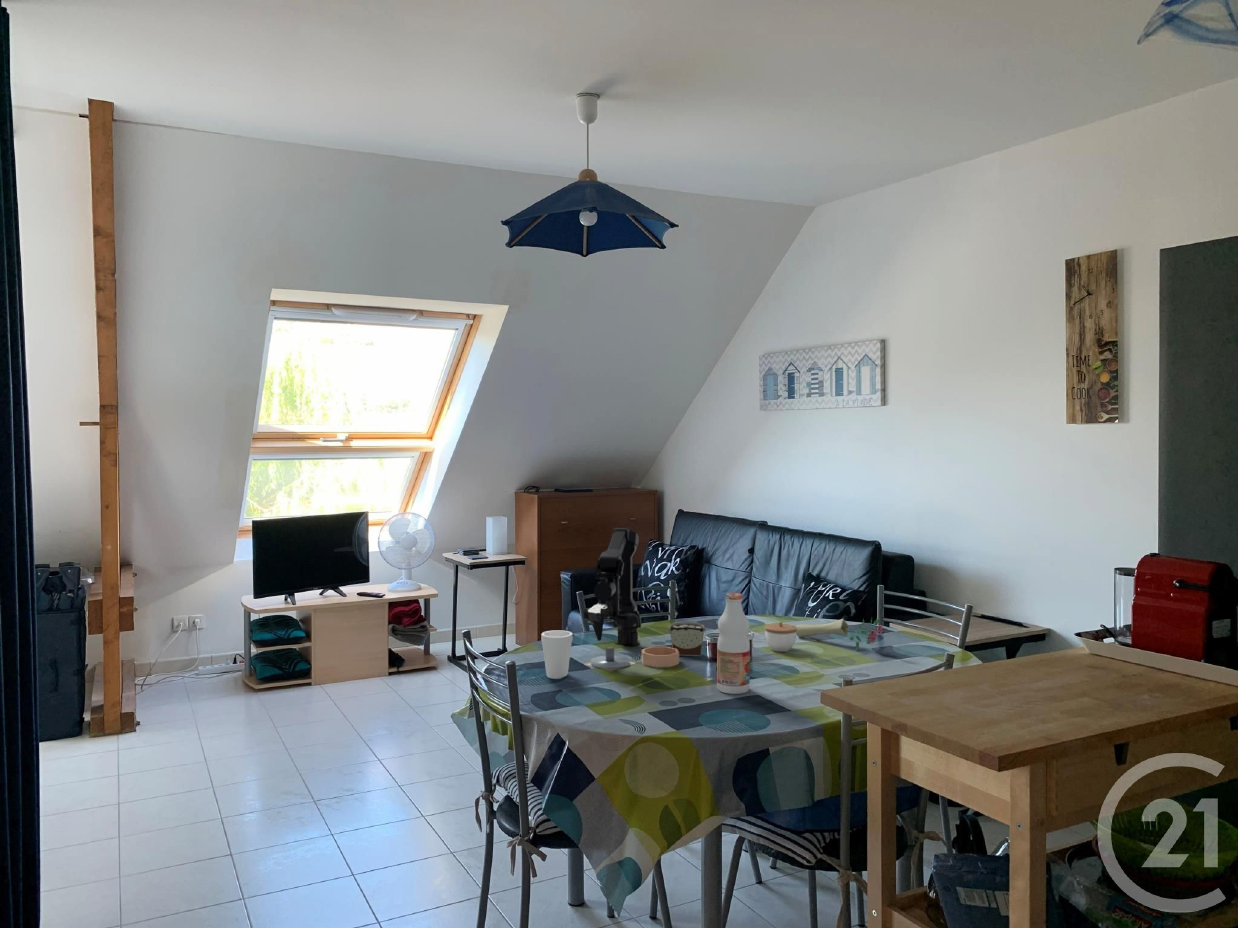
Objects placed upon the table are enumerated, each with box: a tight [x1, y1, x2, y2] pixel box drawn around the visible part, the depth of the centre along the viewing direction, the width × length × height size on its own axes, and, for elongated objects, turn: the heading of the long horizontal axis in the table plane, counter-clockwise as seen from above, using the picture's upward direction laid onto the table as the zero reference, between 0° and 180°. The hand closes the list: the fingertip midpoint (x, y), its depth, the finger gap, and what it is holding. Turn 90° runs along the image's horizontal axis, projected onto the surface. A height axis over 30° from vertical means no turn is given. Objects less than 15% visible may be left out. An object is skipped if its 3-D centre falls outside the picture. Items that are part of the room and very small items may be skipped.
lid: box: [590, 646, 630, 670], centre depth 295 cm, size 12×12×5 cm
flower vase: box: [795, 618, 884, 652], centre depth 320 cm, size 12×12×35 cm
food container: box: [668, 621, 707, 657], centre depth 310 cm, size 12×6×10 cm, turn 84°
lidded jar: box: [764, 621, 797, 653], centre depth 315 cm, size 11×11×9 cm
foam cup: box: [540, 629, 574, 680], centre depth 283 cm, size 10×9×13 cm
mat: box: [583, 661, 637, 672], centre depth 296 cm, size 12×12×1 cm
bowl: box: [641, 645, 680, 668], centre depth 297 cm, size 12×12×4 cm
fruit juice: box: [716, 592, 751, 695], centre depth 268 cm, size 9×9×28 cm
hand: (610, 642), depth 295 cm, fingers open, 9 cm apart
